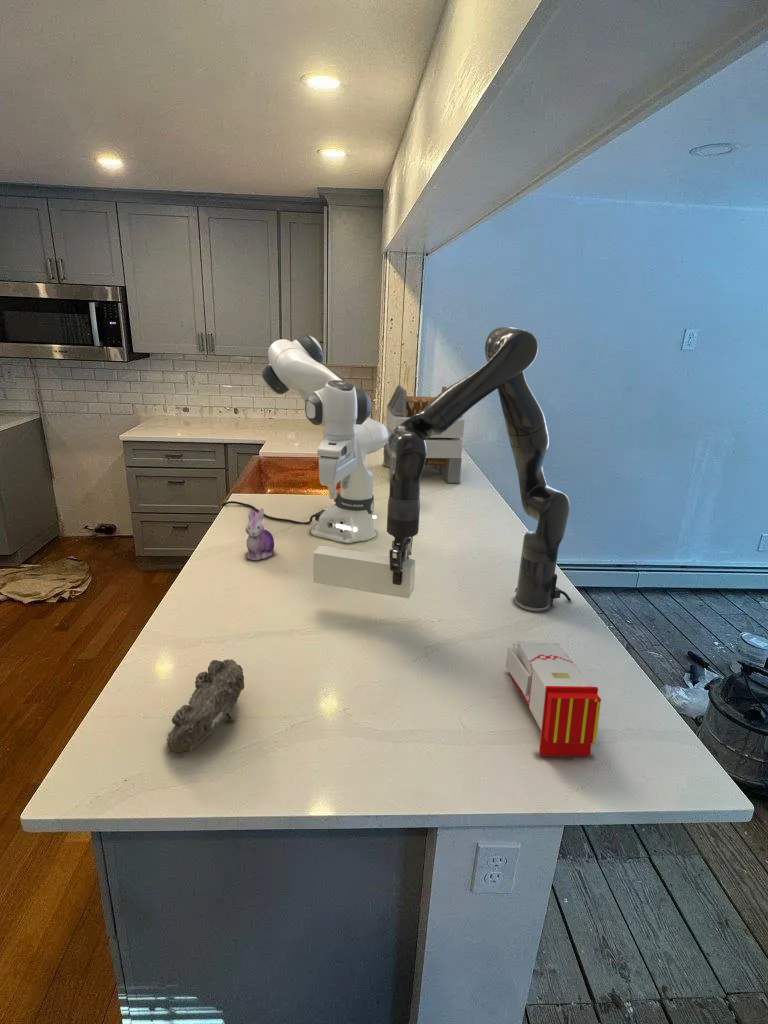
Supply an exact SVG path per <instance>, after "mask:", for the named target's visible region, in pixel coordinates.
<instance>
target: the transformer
mask: <svg viewBox="0 0 768 1024" xmlns="http://www.w3.org/2000/svg"><path fill="white" fill-rule="evenodd" d="M447 388H448V387H447V386H442V387H441V392H443V391H444V390H445V389H447ZM407 394H408V393H407V390H406V389H404V388H403V387H402V385H399V384H398V385H397V386H396V388H395V390H394V392H393V394H392V395H391V398H390V400H389V402H388V404H387V405H386V413H385V414H386V415H385V423H386V425H385V427H386V429H387V431H388V440H389V437H390V435H391V433H392V432H393V430H394V429H395V428H396V427H398V426H399V425H400V424H401V423H403V422H404V421H406V420H407V419H409V418H410V417H412V416H413V415H415V414H417V413H419V412H420V411H422V410H423V409H424V408H425V407H426V406H427V405H428V404H429V403H430V402H431V401H432V400H433V399H435V398H436V397H437V396H415V395H414V396H413V395H412V396H411V395H407ZM464 429H465V419H464V418H463V415H462V416H461V417H460V418H459V419H458V420H457V421H456V422H455V423H454V424H453V425H451V426H450V427H449V428H448V429H447V430H446V431H445V432H443V433H442V434H440V435H433V436H431V437H429V438H428V439H426V440H425V442H426V449H427V453H426V460H425V464H424V467H436V468H437V470H438V469H439V473H440V474H441V475H443V478H444V479H445V481H446V482H447V483H449V484H455V483H456V484H459V483H461V472H462V461H463V460H462V453H463V442H464V441H463V440H462V439H463V438H464V431H465V430H464ZM383 466H384V467H388V468H389V475H388V476H389V477H388V478H389V479H390V476H391V473H392V472H393V471H394V470H395V467H396V456H395V455H394V454H393V453H392V452H391V451H390V449H389V446H388V441H387V443H386V445H385V446H384V447H383Z"/></svg>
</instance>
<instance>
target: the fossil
mask: <svg viewBox="0 0 768 1024" xmlns="http://www.w3.org/2000/svg"><path fill="white" fill-rule="evenodd" d="M243 670H244V669H243V667H242V665H240V664H237V662H236V661H235V660H234V659H232V658H231V659H227V658H226V659H224V660H223V661H222V660H217V659H212V660H211V661H210V663H209V665H208V666H207V671H201V672H199V673H198V674H197V675H196V676H195V680H194V684H195V685H194V687H195V689H194V690H193V693H192V694H191V697H190V698H189V700H188V704H184V705H182V706H181V707H180V709H177V710H176V711H175V713H174V715H173V716H172V718H171V723H172V724H173V727H172V730H171V731H170V732H168V734H167V738H166V741H167V742H166V745H167V749H168V750H169V751H173V752H174V753H176V754H178V753H182V752H188V751H189V752H192V751H193V750H195V748H196V747H197V746H199V744H200V743H201V742H203V741H204V740H205V739H206V738H207V737H208V736H209V735H210V734H211V733H212V732H214V730H215V729H217V727H218V726H219V724H220V722H221V721H222V720H223V719H224V718H225V716H226V717H227V719H229V720H233V717H232V715H230V714H229V710H230V709H231V708H234V706H235V704H236V703H237V702H238V699H239V697H240V695H241V693H242V691H243V690H245V689H244V688H245V675H244V671H243Z"/></svg>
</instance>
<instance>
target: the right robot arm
mask: <svg viewBox="0 0 768 1024" xmlns="http://www.w3.org/2000/svg"><path fill="white" fill-rule="evenodd" d="M538 352H539V344H538V340H537V338H536V336H535V335H534V334H533V333H532V332H530V331H528V330H525V329H522V328H517V327H511V326H498V327H496V328H494V329H492V330H491V331H490V332H489V334H488V335H487V338H486V340H485V344H484V355H485V358H486V359H485V360H486V362H485V364H483V365H482V366H481V367H479V368H478V369H477V370H475V371H474V372H473V373H471V374H470V375H467V376H466V377H464V378H462V379H460V380H458V381H457V382H455V383H453V384H451V385H450V386H448V387H447V389H445V390H444V391H443V392H442V391H441V392H440V393H439V394H438V395H437V396H435V397H436V398H435V399H433V400H432V401H431V402H430V403H429V404H428V405H427V406H426V407H425V408H424V409H423V410H422V411H420V412H419V413H417V414H415V415H413V416H412V417H410V418H409V419H407V420H406V421H404V422H403V423H401V424H400V425H399V426H398V427H396V428H395V429H394V430H393V432H392V433H391V435H390V437H389V440H388V446H389V449H390V451H391V452H392V453H393V454H394V455H395V456H396V467H395V470H394V471H393V472H392V473H391V476H390V478H389V491H388V500H387V515H386V532H387V534H389V535H391V536H392V537H393V538H394V540H392V541H391V549H389V551H388V554H389V556H390V571H393V580H392V583H393V584H395V585H401V584H402V573H403V565H404V562H405V561H406V558H407V559H411V558H410V556H411V555H412V549H413V539H414V537H416V536H417V535H418V534H419V530H420V529H419V528H420V511H421V501H420V499H421V498H420V496H421V495H420V494H421V493H420V492H421V477H422V476H423V475H422V474H423V471H424V469H425V468H424V467H425V466H424V464H425V460H426V453H427V449H426V442H425V440H426V439H428V438H429V437H431V436H433V435H440V434H442V433H443V432H445V431H446V430H447V429H448V428H449V427H450V426H451V425H453V424H454V423H455V422H456V421H457V420H458V419H459V418H460V417H461V416H462V417H463V416H464V415H465V414H466V413H467V412H469V410H471V409H472V408H474V406H475V405H477V404H478V403H479V402H481V401H482V400H484V399H485V398H486V397H488V395H490V394H491V393H493V392H494V391H497V393H498V397H499V401H500V407H501V410H502V414H503V419H504V422H505V427H506V433H507V437H508V441H509V444H510V448H511V451H512V456H513V460H514V465H515V468H516V469H515V470H516V472H517V477H518V485H519V495H520V501H521V506H522V509H523V511H524V513H525V514H526V515H527V516H528V517H530V518H531V519H533V520H535V521H536V522H537V525H536V529H535V530H529V531H527V532H526V533H524V536H523V540H522V547H521V554H520V555H521V556H520V561H519V570H518V577H517V584H516V588H515V591H514V592H515V597H514V603H515V604H516V606H518V607H519V608H521V609H523V610H525V611H529V612H535V613H536V612H538V613H539V612H545V611H548V610H549V609H550V608H551V607H553V606H554V600H555V599H561V595H563V596H564V597H565V599H566V600H567V601H568V602H571V601H572V598H570V596H569V594H568V593H567V592H566V591H564V590H561V588H559V587H558V586H557V582H558V574H557V572H556V567H557V562H558V554H559V548H560V545H561V543H562V541H563V539H564V538H565V537H564V536H565V533H566V528H567V523H568V519H569V514H570V498H569V497H568V495H566V493H564V492H562V491H560V490H558V489H556V488H553V487H551V486H549V485H548V484H547V481H546V478H545V473H544V467H543V464H544V461H545V460H544V459H545V457H546V455H547V453H548V449H549V445H550V436H549V430H548V427H547V422H546V421H547V420H546V417H545V414H544V412H543V410H542V407H541V406H540V404H539V402H538V400H537V399H536V396H534V393H533V391H532V390H531V389H530V386H529V385H528V382H527V380H526V376H525V373H524V371H525V370H527V369H528V368H529V367H531V365H532V364H534V361H535V360H536V358H537V356H538ZM462 417H461V418H462ZM395 564H397V565H398V566H396V565H395Z"/></svg>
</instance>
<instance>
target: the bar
mask: <svg viewBox="0 0 768 1024" xmlns="http://www.w3.org/2000/svg"><path fill="white" fill-rule="evenodd" d="M312 555H313V556H312V557H313V561H312V562H313V565H312V566H313V583H314V584H320V585H325V586H331V587H337V588H343V589H349V590H355V591H360V592H367V593H374V594H379V595H386V596H390V597H391V596H392V597H396V598H397V597H398V598H402V599H403V598H404V599H408V600H410V598H411V596H412V593H413V592H414V591H415V578H416V577H415V576H416V562H417V561H416V559H413V558H410V559H407V558H406V561H405V562H404V565H403V573H402V584H401V585H395V584H393V583H392V580H393V571H390V555H387V554H379V553H374V552H366V551H360V550H353V549H347V548H340V547H334V546H328V545H327V546H326V545H320V546H318V547H317V549H315V550H314V551H313V554H312ZM395 565H396V566H398V565H397V564H395Z"/></svg>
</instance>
